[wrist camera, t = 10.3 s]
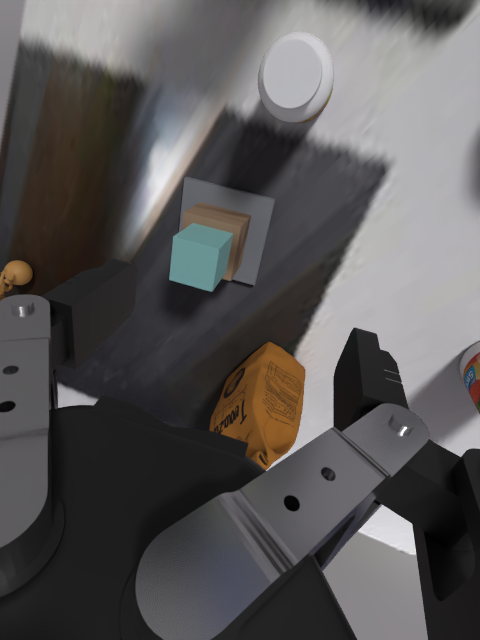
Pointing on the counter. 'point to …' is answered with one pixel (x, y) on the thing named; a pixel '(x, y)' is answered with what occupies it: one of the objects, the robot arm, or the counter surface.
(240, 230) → the walnut block
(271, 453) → the coffee package
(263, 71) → the supplement bottle
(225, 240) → the teal block
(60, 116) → the counter surface
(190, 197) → the slate pad
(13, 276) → the figurine
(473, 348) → the fruit juice
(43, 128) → the counter surface
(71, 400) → the counter surface
